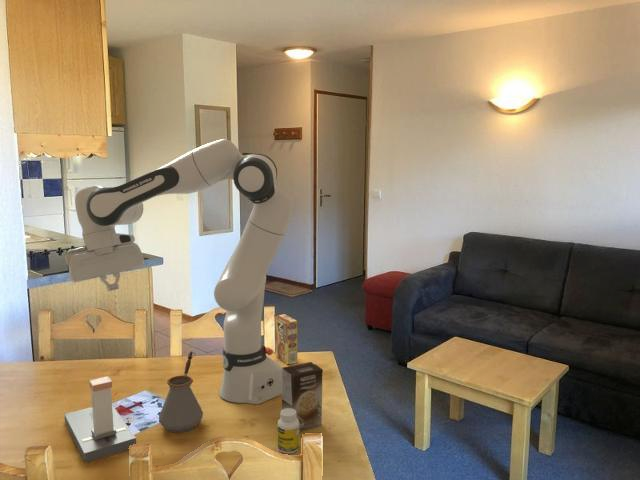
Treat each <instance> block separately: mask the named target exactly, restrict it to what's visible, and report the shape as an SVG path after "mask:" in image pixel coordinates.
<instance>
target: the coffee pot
mask: <svg viewBox="0 0 640 480" xmlns="http://www.w3.org/2000/svg"><path fill="white" fill-rule="evenodd" d="M193 354H194V355H193ZM196 355H197V354H196V353H195V352H193V351H192V350H191V351H190V352H188V353H187V361H186V362H185V368H184V373H183V375H182V374H181V375H175V376H172V377H170V378H168V379H167V382H166V383H167V385H168V386H169V391H168V393H167V395H166V397H165V400H164V402H163V405H162V408H161V409H160V410H161V411H160V413H159V415H158V421H159V423H160V425H161V426H162V427H164V428H165V429H167V430H168V431H169V432H171V433H178V434H179V433H186V432H188V431H192V430H194V428H195V427H196V426H197V425H198V424H199V423H200V422H201V420H202V419H203V416H204V412H203V410H202V408H201V406H200V404H199V401H198V400H197V398H196V395H195V394H194V392H193V390H192V388H191V386H192V384H193V382H194V380H193V378H192V377H191V376H189V375H188V373H189V369H190V367H191V362H192V361H191V360H192V359H193V358H194V357H196Z"/></svg>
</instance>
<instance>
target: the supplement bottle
mask: <svg viewBox="0 0 640 480" xmlns="http://www.w3.org/2000/svg"><path fill="white" fill-rule="evenodd" d="M279 413H280V415H279V416H280V418H279V419H278V420H277V449H278V451H279V452H280V453H282V454H294V453H296V452H298V450H299V448H300V431H299V420H298V419H297V418H296V416H297V412H296V410H294V409H292V408H286V409H283V410H282V409H281V410H280V412H279Z"/></svg>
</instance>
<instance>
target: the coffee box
mask: <svg viewBox="0 0 640 480" xmlns="http://www.w3.org/2000/svg"><path fill="white" fill-rule="evenodd" d="M323 373H324V369H323V368H321V367H320V366H318V365H317V364H315V363H314V362H312V361H308V362H305V363H299V364H292V365H287V366H285V367H283V366H282V394H281V410H283V409H286V408H292V409H294V410H296V412H297V416H296V418H297V419H298V420H299V432H301V431H306V430H309V429H312V428H315V427H316V428H317V427H319V426H320V427H321V426H322V423H323V422H322V418H323V417H322V414H323V413H322V412H323V409H322V408H323Z"/></svg>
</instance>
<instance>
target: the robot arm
mask: <svg viewBox="0 0 640 480" xmlns="http://www.w3.org/2000/svg"><path fill="white" fill-rule="evenodd" d="M277 177H278V169H277V165H276V164H275V162H274V161H273V159H272V158H270V157H269V156H267V155H265V154H262V153H251V152H249V153H248V152H243V153H241V152H240V151H239V149H238V146H237V145H235V143H233V141H230V140H228V139H224V138H223V139H219V140H215V141H212V142H209V143H206V144H203V145H201V146H199V147H196V148H195V149H194V148H193V149H191V150H190V151H188V152H187V153H184V154H183V155H181V156H179V157H177V158H176V159H174V160H171V161H170V162H169V163H167V164H165V165H162V166H161V167H159V168H156V169H154V170H152V171H151V172H150V171H149V172H147V173H146V174H143V175H141V176H139V177H136V178H134V179H132V180H130V181H128V182H127V181H126V182H125V183H123V184H120V185H117V186H111V187H107V186H106V187H104V186H103V187H102V186H101V185H90V186H86V187H84V188H82V189H80V190H79V191H78V192H76V195H75V196H74V197H75V198H74V204H75V211H76V216H77V220H78V223H79V224H80V227H81V230H82V232H81V233H82V235H81V236H82V241H83V244H84V246H81V247H77V248H72V249H69V250H68V251H67V252H65V254H64V256H63V258H64V262H65V264H66V265H67V266H68V272H69V274H68V275H69V279H70V281H71V282H73V283H74V284H75V283H80V282H82V281H84V282H85V281H88V280H93V279H96V278H99V280H100V283H101V282H102V283H103V285H104V286H106V290H107V292H111V291H115V290H120V286H119V282H120V278H121V272H122V273H123V272H126V271H127V272H128V271H130V270H135V269H140V268H141V267H142V268H143V267H144V265H145V259H144V256H143V253H142V250H141V247H140V246H139V244H137V243H136V242H135V236H134V235H133V234H130V233H129V234H128V233H127V234H125V233H119V232H118V233H116V229H115V228H116V227H115V226H121V225H123V226H124V225H126V226H127V225H132V224H133V223H137V222H138V221H140V219H141V218H142V216H143V214H144V213H143V212H144V204H143V203H144V202H146V201H148V200H151V199H152V198H156V197H158V196H164V195H171V194H173V195H174V194H178V195H179V194H181V195H182V194H183V195H184V194H185V195H187V194H189V195H190V194H194V193H197V192H201V191H203V190H205V189H208V188H210V187H212V186H214V185H216V184H218V183H220V182H222V181H225V180H233V184H234V186H235V188H236V189H237V191H238V192H240V193H241V194H242V195H243V196H245V198H247V199H248V200H249V201H251V202H252V204H253V208H252V210H251V212H250V215H249V217H248V219H247V222H246V224H245V227H244V229H243V231H242V234H241V237H240V239H239V241H238V244H237V245H236V247H235V249H234V251H233V252H232V254H231V256H230V257H229V260H228V262H227V263H226V265H225V267H224V268H223V271H222V273H221V275H220V277H219V280H218V282H217V283H216V284H215V287H214V289H213V290H214V291H213V297H214V300H215V303H216V304H217V305H218V306H219V307H220V308H221V309H223V310H224V311H226V312H225V316H224V320H223V348H222V367H223V375H222V380H221V381H222V382H221V384H220V385H221V387H220V390H219V396H220V398H222V399H223V400H225V401H228V402H231V403H238V404H239V403H240V404H241V403H242V404H244V403H245V404H252V405H259V404H261V403H264V402H266V401H269V400H271V399H273V398H275V397H278V396H280V395H282V368H283V366H282V365H281V364H280V363H278V362H277V361H275V360H274V359H272V358H271V357H269V356H273V354H274V350H273V348H271V347H268V346H265V345H263V344H262V317H263V309H264V300H265V291H266V290H265V287H266V282H267V274H266V273H267V271H269V268H270V265H271V264H272V262H273V260H275V256H276V254H277V252H278V249H279V248H280V246H281V242H282V241H283V238H284V237H285V233H286V231H287V228H288V226H289V223H290V220H291V216H292V212H293V207H294V201H293V198H292V197H291V196H290V195H289V194H288V192H286V191H285V190H282V189H280V188H278V186H277V184H276V180H277ZM110 275H113V278H114V282H113V283H111V284H110V283H109V282H108V281H107V279H108V278H107V276H110Z"/></svg>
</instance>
